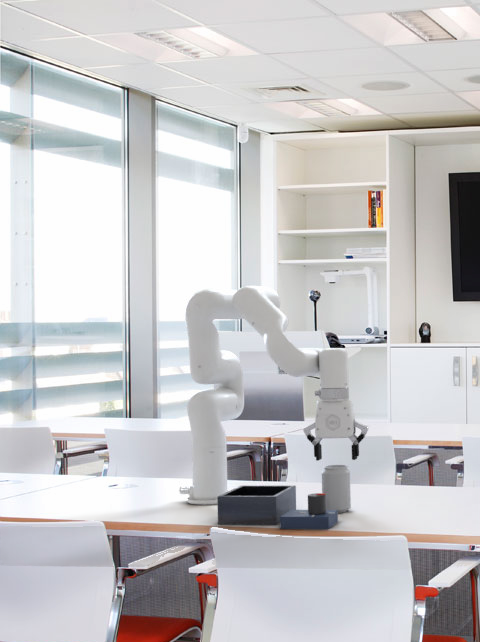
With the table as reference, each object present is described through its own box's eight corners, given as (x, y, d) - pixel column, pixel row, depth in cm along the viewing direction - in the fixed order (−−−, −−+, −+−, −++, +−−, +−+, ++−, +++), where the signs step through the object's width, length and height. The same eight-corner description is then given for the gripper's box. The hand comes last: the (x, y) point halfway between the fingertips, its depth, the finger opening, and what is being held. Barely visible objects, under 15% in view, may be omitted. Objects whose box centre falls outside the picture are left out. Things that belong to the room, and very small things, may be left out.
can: (355, 509, 265) (354, 464, 264) (343, 514, 258) (342, 468, 257) (330, 507, 267) (329, 463, 267) (317, 512, 260) (316, 467, 260)
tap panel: (280, 529, 240) (279, 515, 240) (291, 521, 249) (290, 509, 249) (329, 529, 239) (329, 516, 239) (339, 521, 248) (338, 509, 247)
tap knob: (305, 514, 242) (305, 495, 241) (310, 511, 246) (310, 492, 246) (323, 514, 241) (323, 495, 241) (328, 511, 245) (327, 492, 245)
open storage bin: (217, 524, 247) (217, 496, 247) (241, 511, 264) (240, 485, 264) (276, 524, 245) (275, 496, 245) (296, 511, 262) (295, 485, 262)
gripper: (298, 396, 259) (300, 462, 259) (363, 395, 257) (365, 460, 257) (306, 394, 266) (308, 458, 267) (369, 393, 265) (371, 457, 265)
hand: (336, 459), depth 262 cm, fingers open, 9 cm apart
